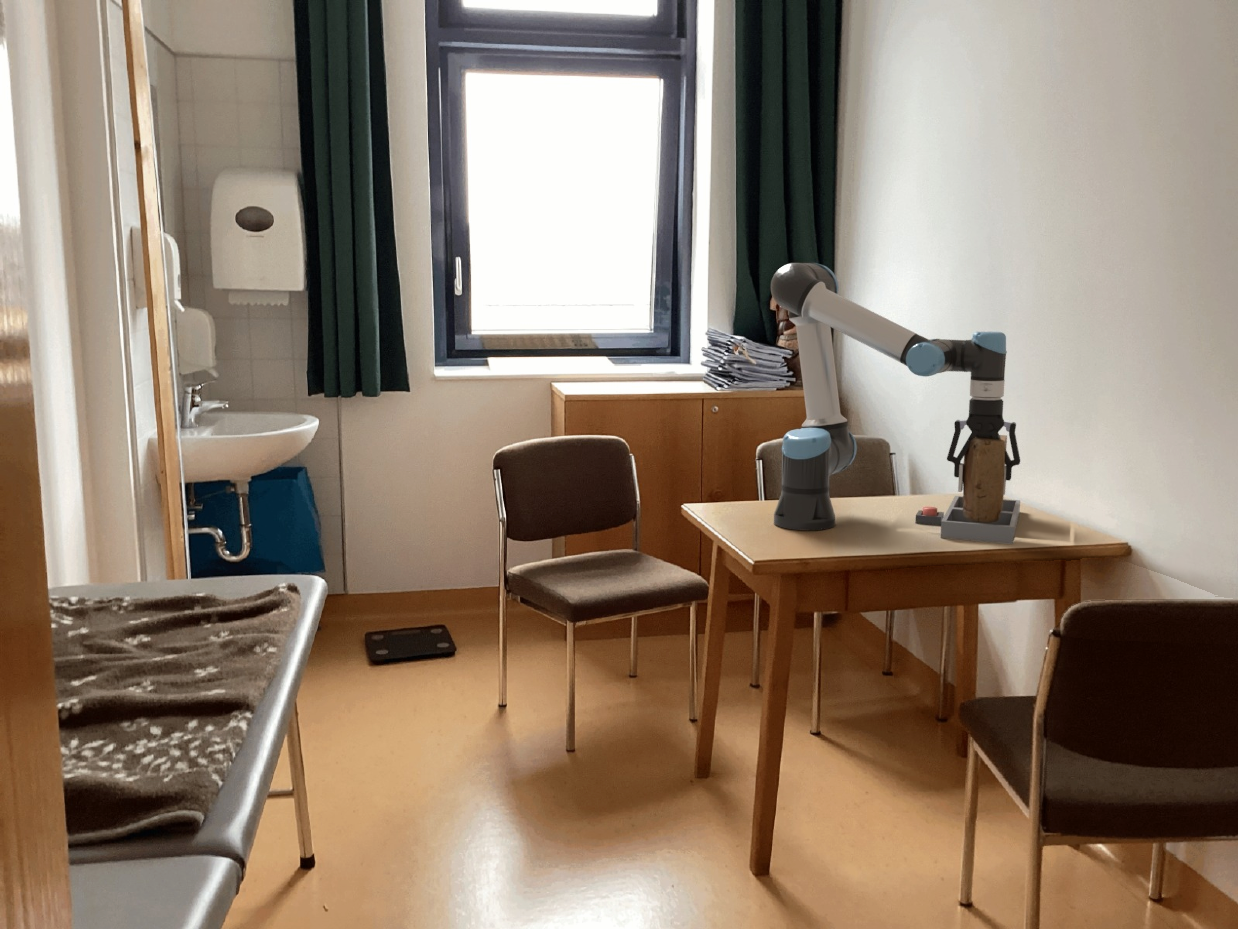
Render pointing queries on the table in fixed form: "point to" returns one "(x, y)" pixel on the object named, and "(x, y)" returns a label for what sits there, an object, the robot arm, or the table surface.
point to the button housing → (929, 518)
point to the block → (983, 480)
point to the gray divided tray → (980, 524)
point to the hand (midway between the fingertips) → (981, 492)
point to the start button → (930, 511)
